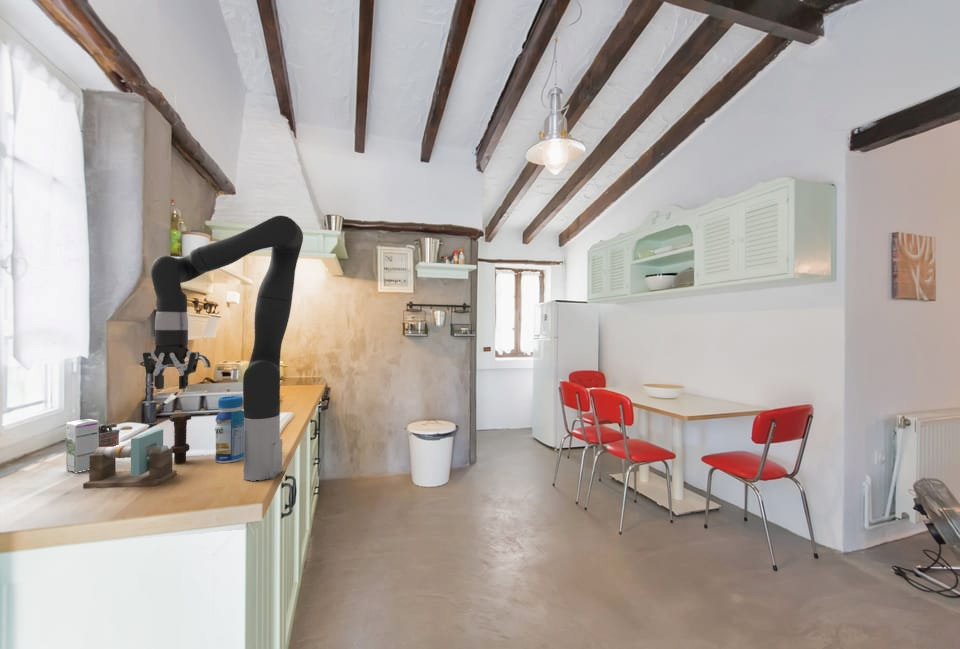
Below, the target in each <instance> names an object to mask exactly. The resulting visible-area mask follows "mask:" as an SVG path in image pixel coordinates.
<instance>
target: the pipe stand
mask: <svg viewBox="0 0 960 649" xmlns="http://www.w3.org/2000/svg"><path fill="white" fill-rule="evenodd" d="M173 454H174V453H173V448H172V449H171V448H169V447H168V445H163V446H147V457H149V471H147V472H145V473H143V474H141V475H139V476H131V470H127V471H124V470H122V471H116V464H117V460H116V459H125V458H128V459H129V458H130V459H131V445H130V446H129V445H121V446H119V447H98V448H97V449H96V451H95V454H92V455H90V462H89V472H88V474H89V475H88V476H89V478H88V481H86V482H84V483H82V488H83V489H96V488H97V487H102V488H128V487H130V488H131V487H133V488H134V487H156V486H159V485H160V484H162V483H164V482H165V481H167V480H169V479H171V478H172V477H174V476H175V475H177V472H178V471H177V469H173ZM86 487H87V488H86ZM97 489H98V488H97Z"/></svg>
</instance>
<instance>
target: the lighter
mask: <svg viewBox="0 0 960 649" xmlns="http://www.w3.org/2000/svg"><path fill="white" fill-rule="evenodd" d="M117 427H118V425H117V423H116V422H114V423H108V424H106V425H105V424H103V423H102V424H99V425H98V429H99V447H114V446H116V445H120V443H119V442H120V439H119V438H120V429H114V428H117Z"/></svg>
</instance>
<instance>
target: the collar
mask: <svg viewBox="0 0 960 649" xmlns="http://www.w3.org/2000/svg"><path fill="white" fill-rule="evenodd" d="M130 446H131V458H130V471H131V476H139V475H141V474H143V473H145V472H147V471H149V457H147V446H164V428H161V429H160V428H158V429H157V428H156V429H152V430H150V431H148V432H145V433H142V434H139V435H136V436H134V437H131V438H130Z"/></svg>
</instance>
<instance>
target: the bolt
mask: <svg viewBox="0 0 960 649" xmlns="http://www.w3.org/2000/svg"><path fill="white" fill-rule="evenodd" d="M191 414H192V413H184V412H183V413H176V414H172V415H170V416H169V421H170V422H171V423H173V430H174V431H173V434H174V435H173V445H172V446H170V449H172V448H173V453H172V454H173V464H177V465H179V464H184V463H185V462H187V452H189V450H190V445H189V443H187V430H188V429H187V424H188V421H190V420H192V415H191Z"/></svg>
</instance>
